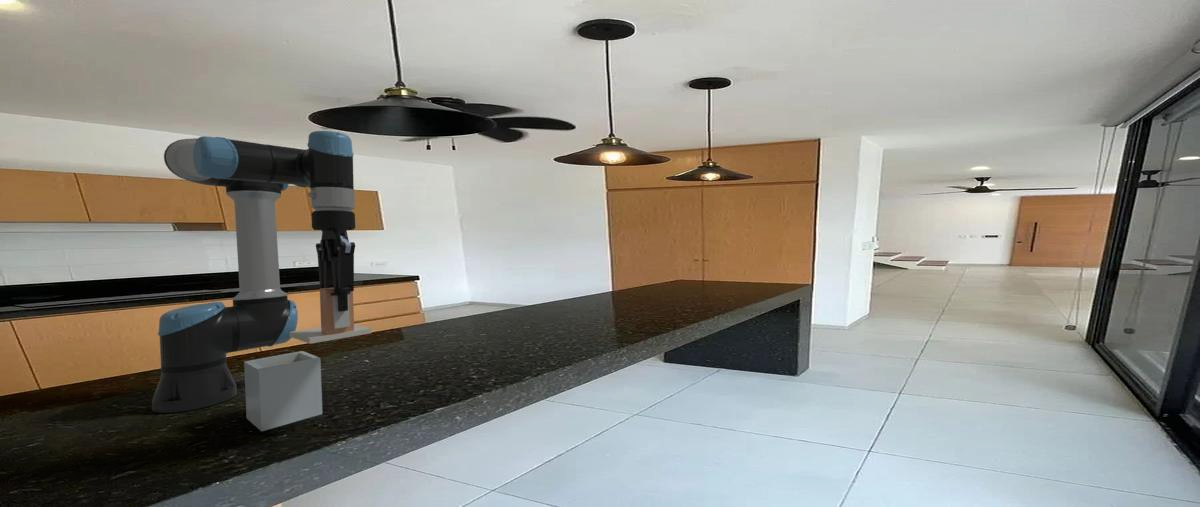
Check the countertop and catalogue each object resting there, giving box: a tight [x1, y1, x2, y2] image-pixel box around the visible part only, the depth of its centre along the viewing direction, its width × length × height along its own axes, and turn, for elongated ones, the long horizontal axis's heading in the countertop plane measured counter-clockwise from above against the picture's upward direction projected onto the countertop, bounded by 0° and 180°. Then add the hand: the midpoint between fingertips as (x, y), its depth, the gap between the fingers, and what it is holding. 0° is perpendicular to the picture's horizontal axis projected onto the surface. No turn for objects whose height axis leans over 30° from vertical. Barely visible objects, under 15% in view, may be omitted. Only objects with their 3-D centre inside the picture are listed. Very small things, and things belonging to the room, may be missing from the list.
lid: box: [289, 288, 373, 345], centre depth 91 cm, size 11×11×10 cm
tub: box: [243, 350, 323, 432], centre depth 96 cm, size 11×11×12 cm
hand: (337, 326), depth 89 cm, fingers closed on lid, 3 cm apart
